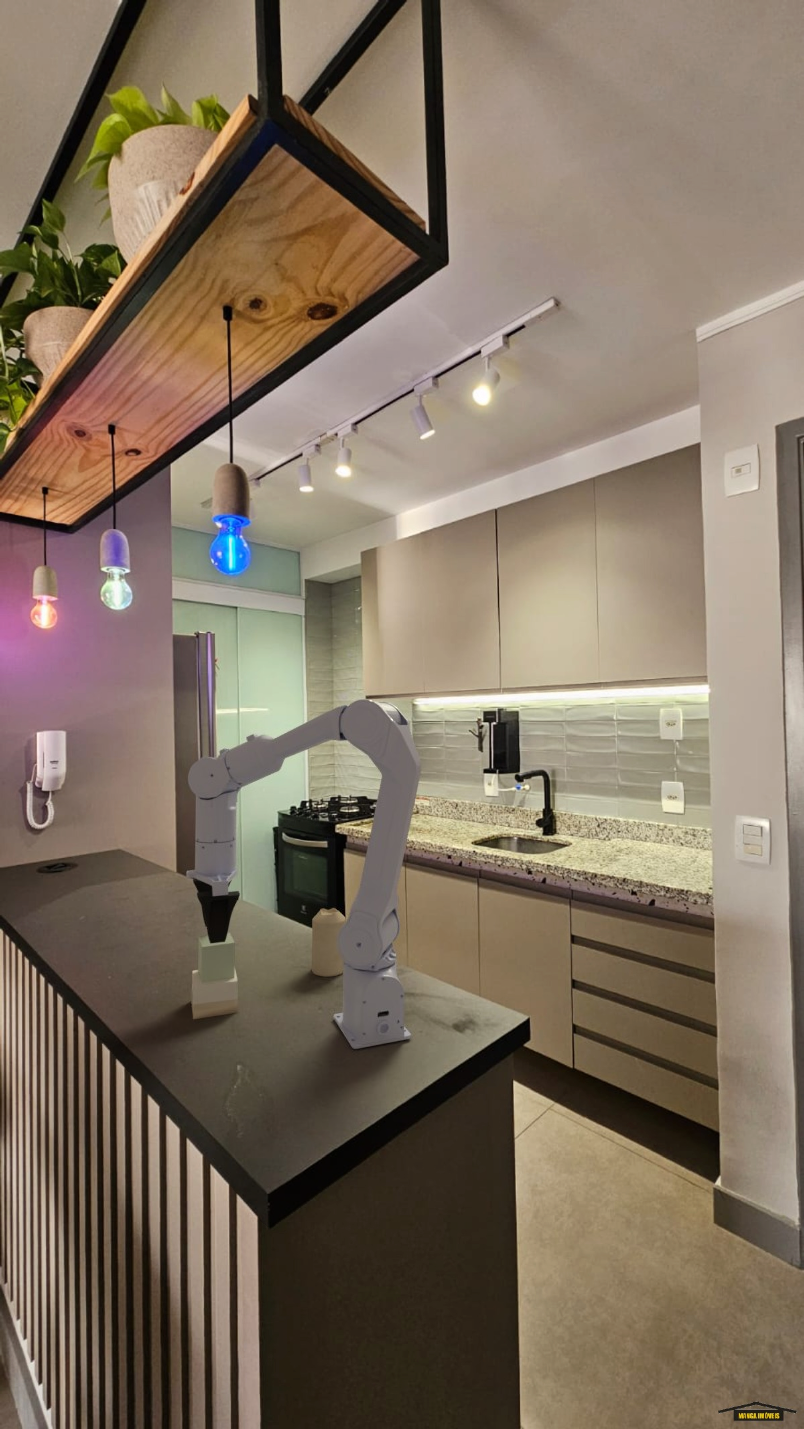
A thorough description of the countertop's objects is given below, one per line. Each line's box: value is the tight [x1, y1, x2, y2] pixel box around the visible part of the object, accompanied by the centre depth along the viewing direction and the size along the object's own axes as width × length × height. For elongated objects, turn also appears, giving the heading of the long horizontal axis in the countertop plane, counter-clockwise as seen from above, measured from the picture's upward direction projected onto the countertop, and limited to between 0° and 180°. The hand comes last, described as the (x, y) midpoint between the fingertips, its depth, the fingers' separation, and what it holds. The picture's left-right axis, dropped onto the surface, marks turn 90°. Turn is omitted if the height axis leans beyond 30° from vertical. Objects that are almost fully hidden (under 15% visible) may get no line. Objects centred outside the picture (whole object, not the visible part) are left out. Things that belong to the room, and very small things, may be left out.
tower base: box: [190, 987, 239, 1020], centre depth 91 cm, size 6×6×2 cm
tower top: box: [191, 969, 239, 1005], centre depth 91 cm, size 6×6×2 cm
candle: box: [311, 907, 347, 978], centre depth 105 cm, size 6×6×10 cm
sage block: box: [197, 932, 236, 983], centre depth 92 cm, size 4×4×5 cm
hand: (214, 933), depth 92 cm, fingers open, 7 cm apart
